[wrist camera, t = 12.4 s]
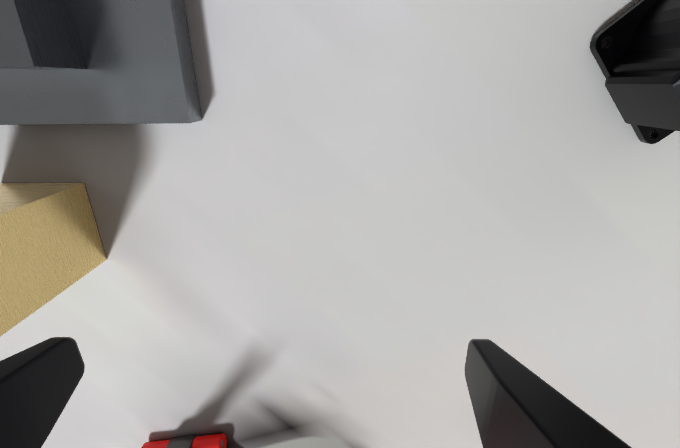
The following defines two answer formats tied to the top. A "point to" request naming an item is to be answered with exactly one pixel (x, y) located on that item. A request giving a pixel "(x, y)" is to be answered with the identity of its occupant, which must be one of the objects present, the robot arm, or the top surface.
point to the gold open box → (43, 245)
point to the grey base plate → (96, 62)
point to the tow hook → (191, 442)
